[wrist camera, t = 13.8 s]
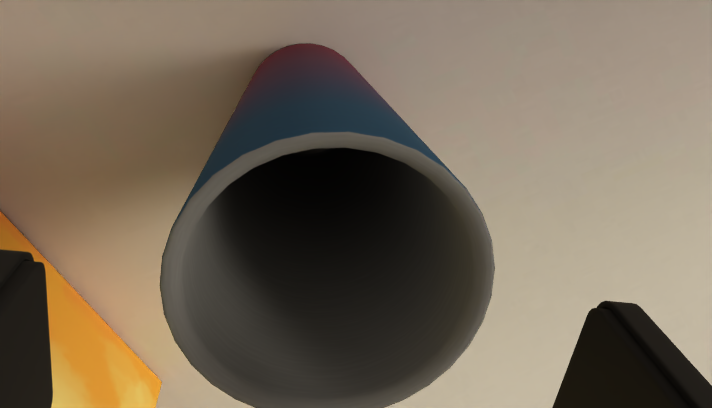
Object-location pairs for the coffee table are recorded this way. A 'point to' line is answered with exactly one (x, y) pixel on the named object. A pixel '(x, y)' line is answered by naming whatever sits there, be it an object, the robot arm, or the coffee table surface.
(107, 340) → the mottled yellow carton
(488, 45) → the coffee table surface
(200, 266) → the cup
